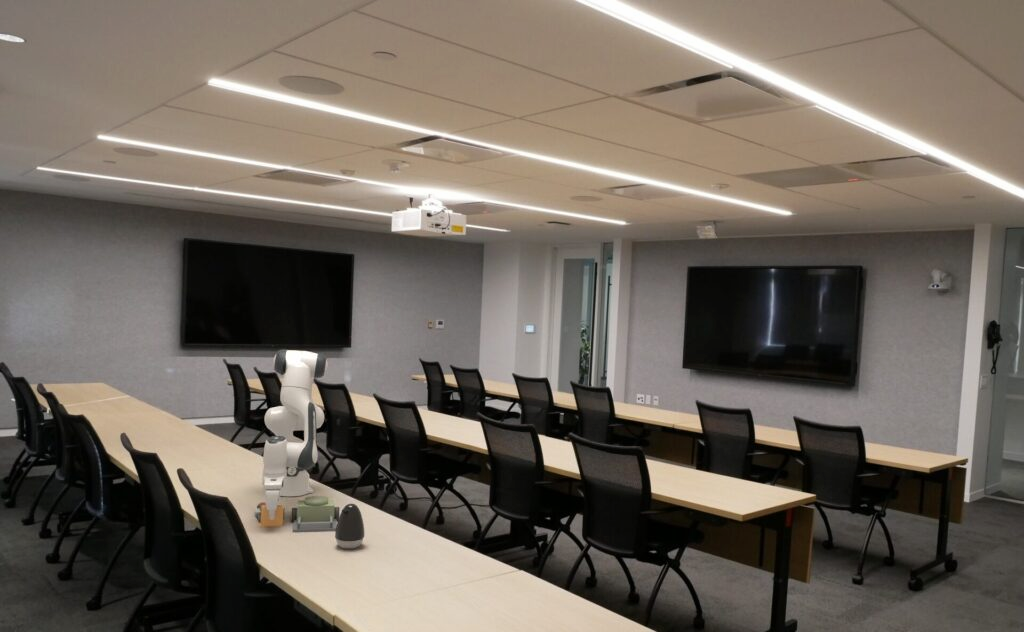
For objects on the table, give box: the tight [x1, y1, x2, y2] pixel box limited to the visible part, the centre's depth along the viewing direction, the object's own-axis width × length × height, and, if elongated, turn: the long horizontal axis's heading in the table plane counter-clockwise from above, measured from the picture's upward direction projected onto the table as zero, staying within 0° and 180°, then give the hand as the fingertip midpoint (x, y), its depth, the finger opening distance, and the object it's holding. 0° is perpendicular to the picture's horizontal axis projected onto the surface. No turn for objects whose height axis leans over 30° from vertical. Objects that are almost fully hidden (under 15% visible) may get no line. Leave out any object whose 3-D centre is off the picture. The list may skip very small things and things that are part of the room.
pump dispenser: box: [334, 503, 366, 550], centre depth 255 cm, size 10×10×15 cm
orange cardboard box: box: [260, 504, 286, 528], centre depth 277 cm, size 4×8×7 cm, turn 104°
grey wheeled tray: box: [290, 495, 340, 533], centre depth 279 cm, size 19×18×9 cm
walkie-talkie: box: [253, 501, 266, 522], centre depth 289 cm, size 9×4×20 cm
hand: (272, 515), depth 276 cm, fingers open, 8 cm apart
